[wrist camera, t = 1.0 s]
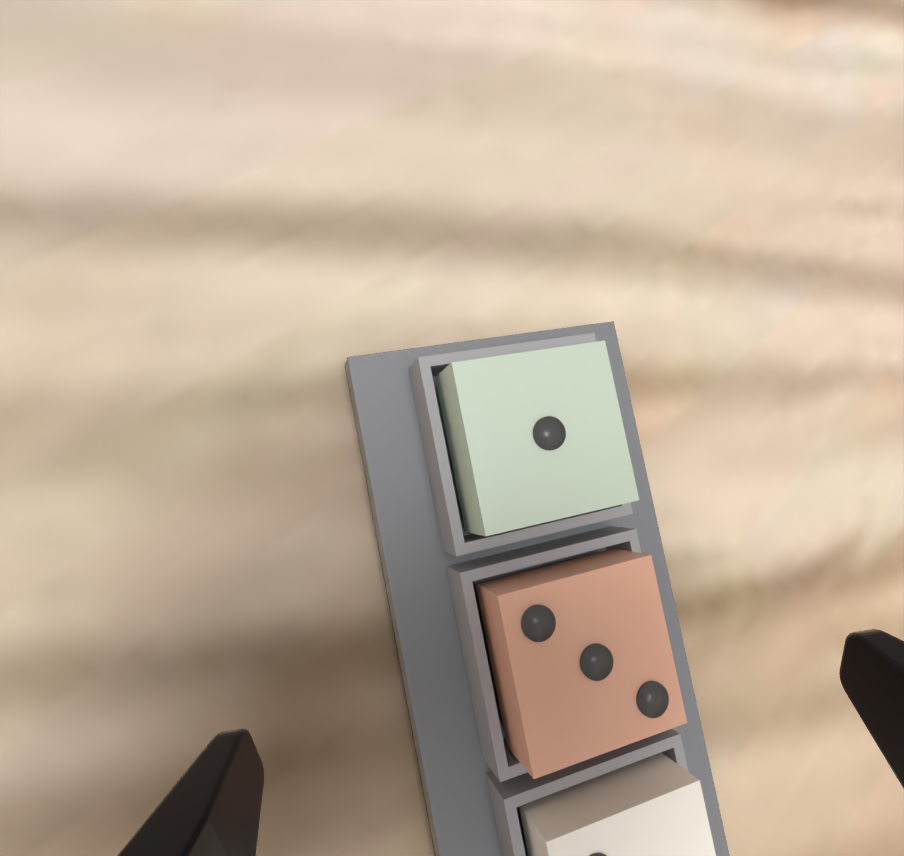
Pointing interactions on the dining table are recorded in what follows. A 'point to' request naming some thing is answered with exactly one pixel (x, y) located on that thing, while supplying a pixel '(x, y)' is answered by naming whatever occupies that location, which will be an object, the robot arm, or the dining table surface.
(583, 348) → the tile one dot
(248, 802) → the robot arm
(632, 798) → the tile two dots
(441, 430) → the button board
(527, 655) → the tile three dots
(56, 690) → the dining table surface
